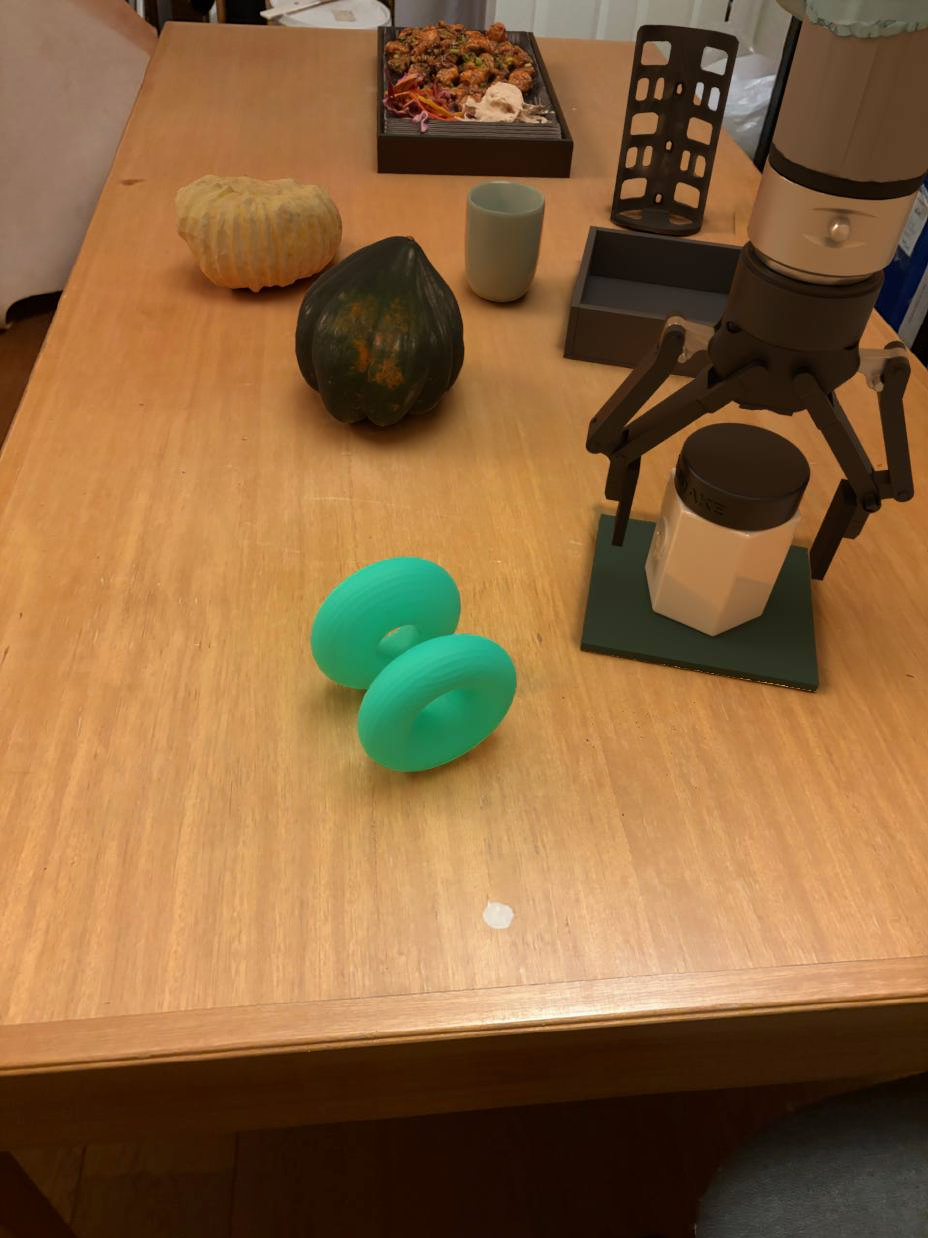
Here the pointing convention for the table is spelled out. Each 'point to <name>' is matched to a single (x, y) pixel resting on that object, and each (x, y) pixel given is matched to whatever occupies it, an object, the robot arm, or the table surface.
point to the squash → (380, 334)
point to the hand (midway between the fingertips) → (715, 550)
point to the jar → (725, 526)
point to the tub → (645, 294)
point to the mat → (747, 651)
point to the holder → (672, 127)
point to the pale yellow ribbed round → (257, 229)
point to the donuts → (412, 664)
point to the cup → (503, 238)
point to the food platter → (467, 104)
